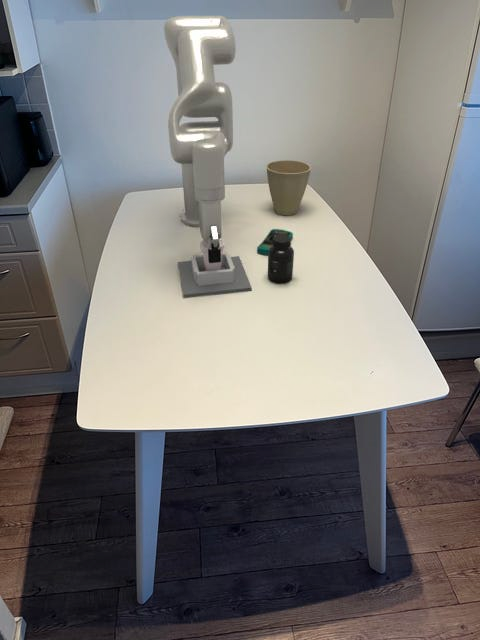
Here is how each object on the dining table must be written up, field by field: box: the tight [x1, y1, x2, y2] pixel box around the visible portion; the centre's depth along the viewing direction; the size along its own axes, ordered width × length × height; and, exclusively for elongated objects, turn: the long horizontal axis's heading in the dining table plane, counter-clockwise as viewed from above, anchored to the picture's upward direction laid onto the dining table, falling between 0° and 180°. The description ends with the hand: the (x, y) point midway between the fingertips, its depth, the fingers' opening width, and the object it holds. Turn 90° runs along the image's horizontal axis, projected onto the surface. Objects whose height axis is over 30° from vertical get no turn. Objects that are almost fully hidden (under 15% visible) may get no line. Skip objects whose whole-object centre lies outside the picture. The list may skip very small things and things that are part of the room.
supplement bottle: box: [267, 235, 295, 285], centre depth 131 cm, size 7×7×12 cm
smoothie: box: [199, 238, 225, 271], centre depth 130 cm, size 6×6×14 cm
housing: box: [177, 252, 253, 299], centre depth 134 cm, size 18×18×4 cm
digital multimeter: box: [256, 228, 294, 257], centre depth 151 cm, size 7×15×3 cm, turn 159°
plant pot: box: [266, 159, 312, 216], centre depth 168 cm, size 15×15×16 cm
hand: (212, 253), depth 131 cm, fingers open, 9 cm apart
